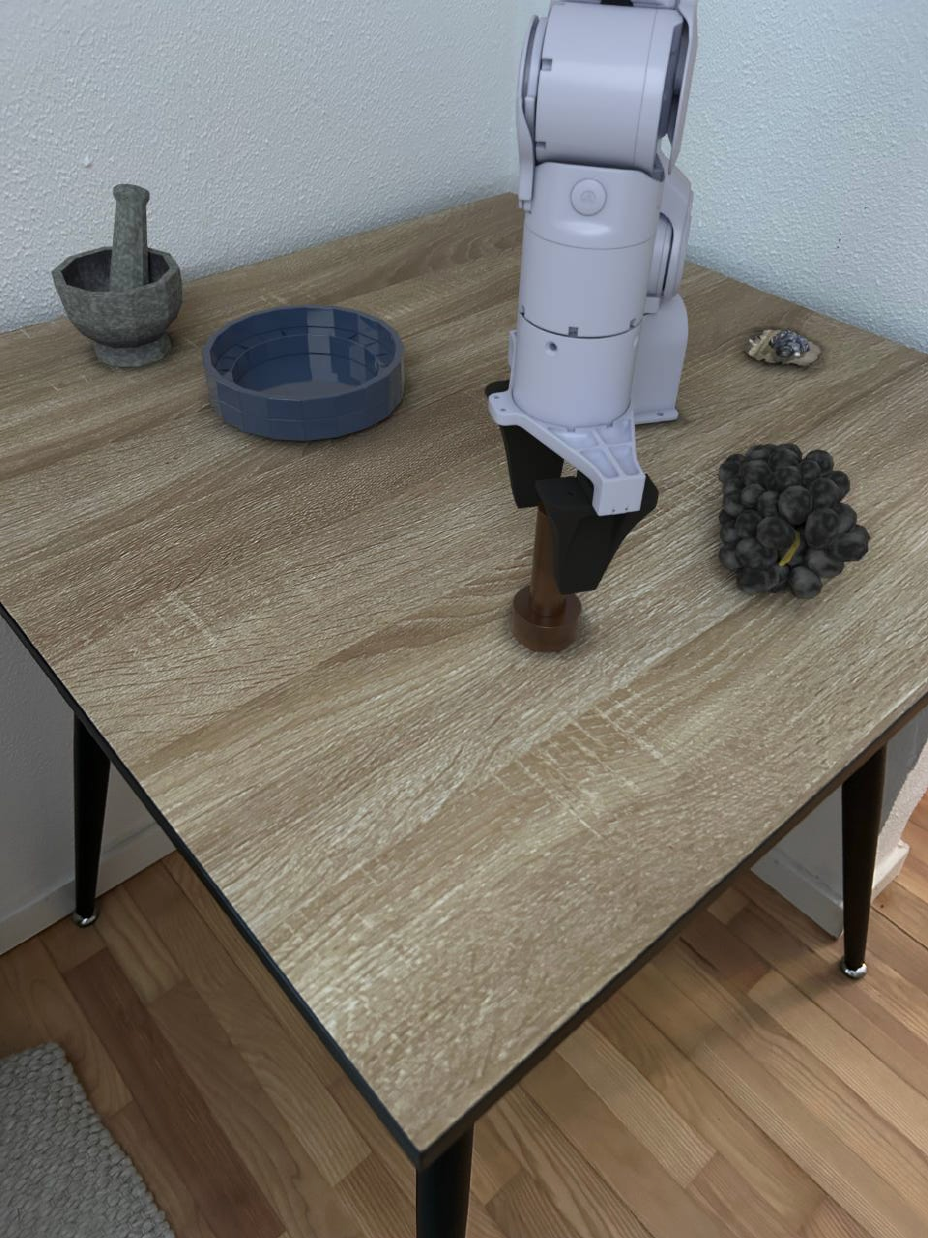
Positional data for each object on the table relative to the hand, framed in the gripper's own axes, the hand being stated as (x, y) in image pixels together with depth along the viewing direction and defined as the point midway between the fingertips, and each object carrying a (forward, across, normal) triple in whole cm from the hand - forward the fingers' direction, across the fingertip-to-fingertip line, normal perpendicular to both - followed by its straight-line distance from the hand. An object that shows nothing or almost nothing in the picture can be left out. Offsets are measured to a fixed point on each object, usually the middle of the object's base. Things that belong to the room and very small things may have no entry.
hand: (553, 543), depth 54 cm
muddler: (+6, 0, 0) cm, 7 cm away
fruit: (+7, -4, +17) cm, 19 cm away
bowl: (+6, -30, -10) cm, 32 cm away
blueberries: (+7, -29, +31) cm, 43 cm away
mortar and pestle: (+7, -41, -23) cm, 48 cm away
